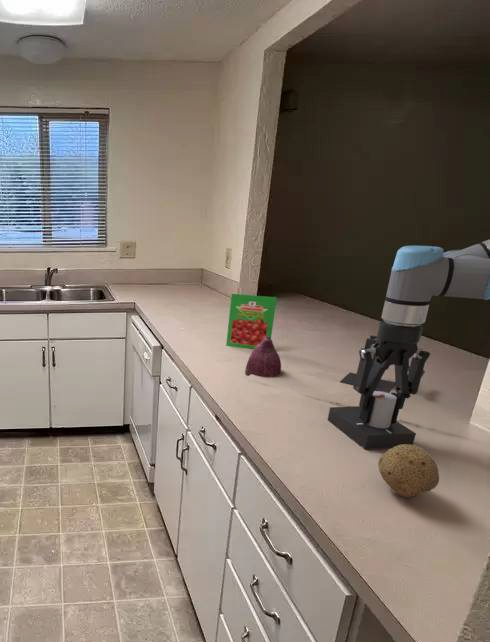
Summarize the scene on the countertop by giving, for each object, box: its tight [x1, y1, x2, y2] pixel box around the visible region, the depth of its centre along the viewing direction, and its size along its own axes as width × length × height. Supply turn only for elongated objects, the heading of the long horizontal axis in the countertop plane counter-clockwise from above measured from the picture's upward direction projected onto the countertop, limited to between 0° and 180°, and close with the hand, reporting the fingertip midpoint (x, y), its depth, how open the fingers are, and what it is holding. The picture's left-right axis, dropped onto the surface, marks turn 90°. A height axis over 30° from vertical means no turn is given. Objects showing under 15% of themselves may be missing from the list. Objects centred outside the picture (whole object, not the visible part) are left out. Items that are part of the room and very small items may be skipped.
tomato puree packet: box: [225, 293, 278, 350], centre depth 159 cm, size 15×1×20 cm, turn 62°
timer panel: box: [327, 405, 417, 450], centre depth 102 cm, size 14×11×4 cm
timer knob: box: [367, 391, 397, 429], centre depth 98 cm, size 5×5×7 cm
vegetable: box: [244, 336, 282, 378], centre depth 134 cm, size 10×10×15 cm
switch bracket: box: [339, 334, 396, 393], centre depth 125 cm, size 12×10×15 cm
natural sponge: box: [377, 444, 440, 498], centre depth 79 cm, size 9×9×10 cm
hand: (377, 420), depth 99 cm, fingers closed on timer knob, 5 cm apart
